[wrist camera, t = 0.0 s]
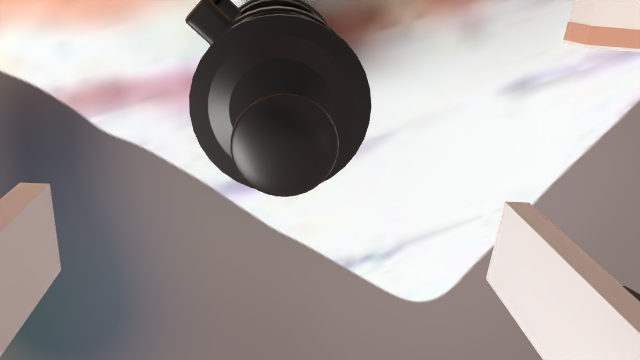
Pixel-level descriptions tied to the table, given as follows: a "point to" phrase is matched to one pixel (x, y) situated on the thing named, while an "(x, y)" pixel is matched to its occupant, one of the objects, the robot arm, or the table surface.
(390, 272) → the table surface
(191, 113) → the french press
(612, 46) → the cream rectangular bar
